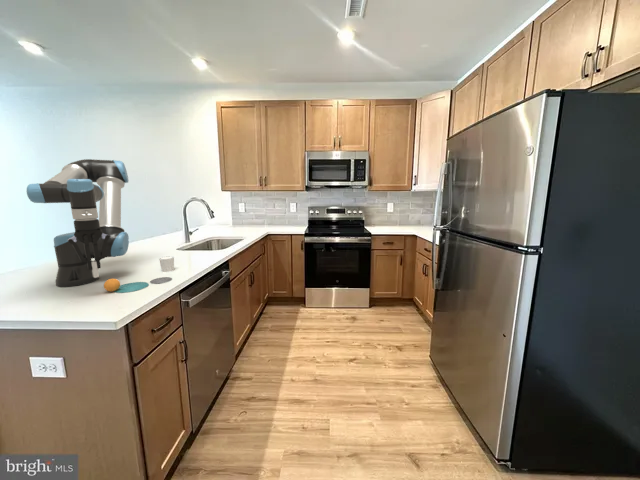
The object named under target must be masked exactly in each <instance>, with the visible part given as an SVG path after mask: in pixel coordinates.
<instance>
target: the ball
mask: <svg viewBox="0 0 640 480" xmlns="http://www.w3.org/2000/svg"><path fill="white" fill-rule="evenodd" d="M120 285H121V281H119V279H117V278H109V279H107V280H105V282H104V283H103V288H104V290H105V291H107V292H111V293H112V292H113V291H116V290H117V289H119V287H120Z"/></svg>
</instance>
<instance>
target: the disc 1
mask: <svg viewBox="0 0 640 480" xmlns="http://www.w3.org/2000/svg"><path fill="white" fill-rule="evenodd" d="M148 287H149V282H146V281H135V282H128V283H124V284H120V287H119V289H117V290H116V291H113V292H114V293H118V294H120V293H121V294H122V293H123V294H125V293H132V292H137V291H140V290H143V289H146V288H148Z"/></svg>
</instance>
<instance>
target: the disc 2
mask: <svg viewBox="0 0 640 480" xmlns="http://www.w3.org/2000/svg"><path fill="white" fill-rule="evenodd" d="M172 280H173V278H172V277H170V276H168V277H167V276H163V277H157V278H153V279H151V280H150V281H149V283H150V284H151V285H152V284H154V285H157V284H164V283H165V284H166V283H169V282H170V281H172Z"/></svg>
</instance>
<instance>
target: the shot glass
mask: <svg viewBox="0 0 640 480" xmlns="http://www.w3.org/2000/svg"><path fill="white" fill-rule="evenodd" d="M158 259H159V263H160V269H161V272H162V273H163V272H164V273H167V272H168V273H169V272H173V271H174V270H175V257H174V256H162V257H159V258H158Z"/></svg>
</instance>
